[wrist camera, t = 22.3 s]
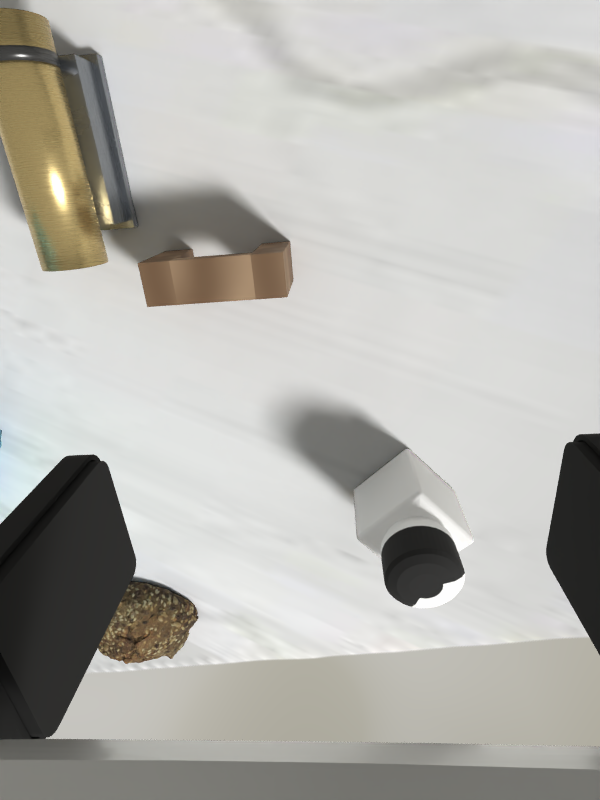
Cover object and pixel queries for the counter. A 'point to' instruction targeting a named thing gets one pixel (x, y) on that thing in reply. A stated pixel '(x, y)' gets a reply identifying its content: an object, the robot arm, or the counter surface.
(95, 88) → the cradle
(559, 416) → the counter surface
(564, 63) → the counter surface
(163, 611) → the bread roll
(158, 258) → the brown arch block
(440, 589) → the medicine bottle
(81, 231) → the axle
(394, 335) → the counter surface
